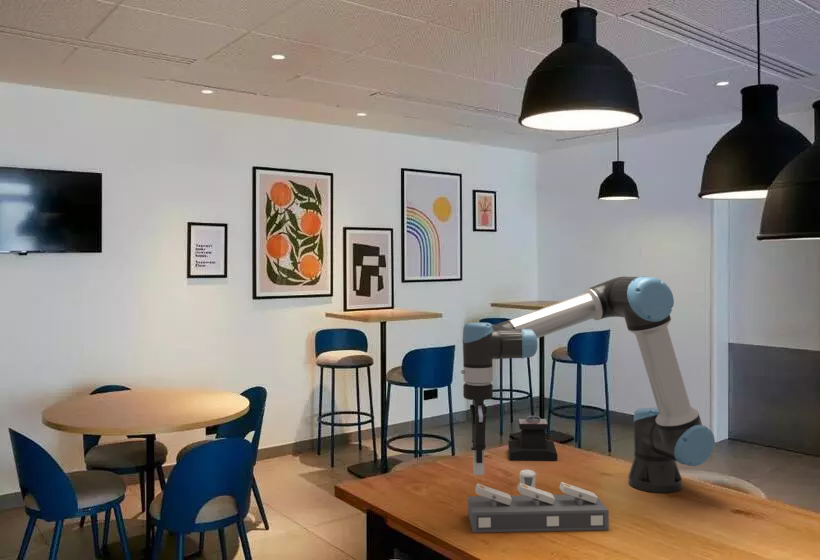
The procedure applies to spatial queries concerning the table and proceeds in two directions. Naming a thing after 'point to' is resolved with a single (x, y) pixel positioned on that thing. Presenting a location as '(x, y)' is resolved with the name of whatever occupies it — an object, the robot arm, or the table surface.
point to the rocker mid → (535, 493)
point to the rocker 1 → (493, 494)
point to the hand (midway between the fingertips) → (478, 474)
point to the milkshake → (528, 477)
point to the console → (536, 514)
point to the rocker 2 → (578, 492)
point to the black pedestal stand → (532, 442)
